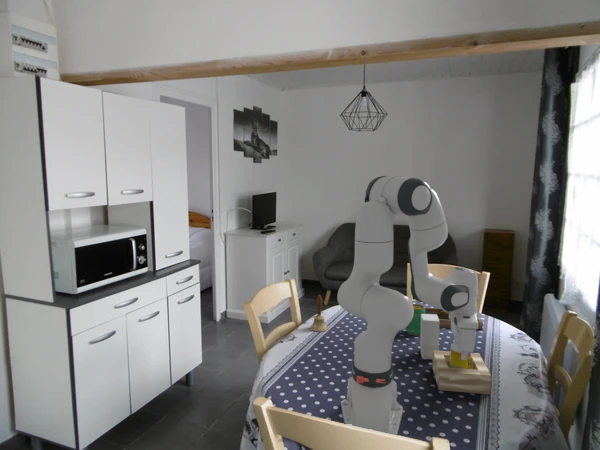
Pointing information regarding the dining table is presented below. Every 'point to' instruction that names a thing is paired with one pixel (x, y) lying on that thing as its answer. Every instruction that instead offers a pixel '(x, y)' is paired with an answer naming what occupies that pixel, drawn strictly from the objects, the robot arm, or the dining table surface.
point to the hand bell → (319, 318)
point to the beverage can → (416, 321)
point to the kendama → (442, 314)
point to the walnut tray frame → (447, 323)
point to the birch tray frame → (461, 374)
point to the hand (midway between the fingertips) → (460, 352)
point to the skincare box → (429, 335)
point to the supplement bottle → (458, 357)
